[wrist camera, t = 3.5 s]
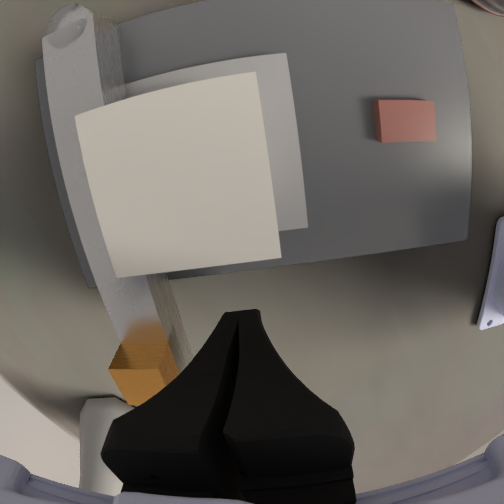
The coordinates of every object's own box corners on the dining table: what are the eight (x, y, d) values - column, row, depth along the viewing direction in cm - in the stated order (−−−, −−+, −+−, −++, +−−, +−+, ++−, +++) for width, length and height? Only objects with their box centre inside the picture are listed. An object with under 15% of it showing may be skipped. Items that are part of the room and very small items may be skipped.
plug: (280, 64, 12) (307, 12, 5) (299, 206, 14) (335, 296, 8) (134, 92, 12) (28, 85, 5) (161, 226, 15) (94, 320, 8)
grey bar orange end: (122, 13, 9) (68, -20, 5) (195, 345, 15) (179, 414, 11) (78, 30, 9) (14, 11, 5) (156, 347, 15) (133, 412, 11)
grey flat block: (427, 14, 11) (460, 0, 8) (442, 222, 15) (473, 244, 12) (62, 64, 12) (26, 59, 9) (108, 265, 16) (83, 294, 14)
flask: (128, 450, 25) (104, 539, 15) (68, 406, 22) (26, 497, 13) (182, 436, 23) (162, 544, 14) (114, 383, 20) (68, 501, 11)
